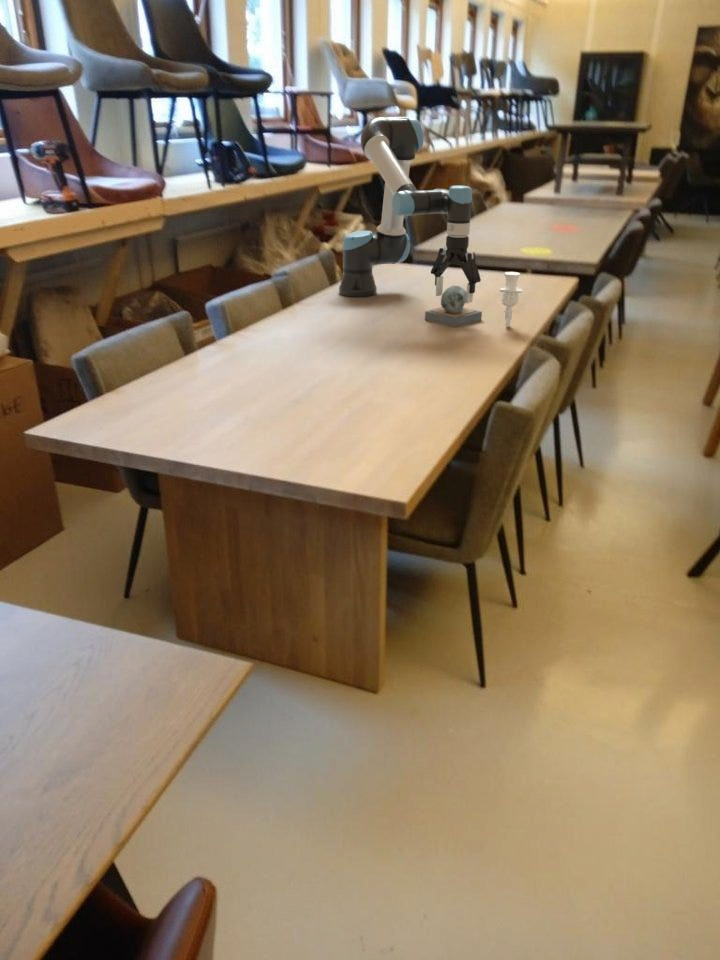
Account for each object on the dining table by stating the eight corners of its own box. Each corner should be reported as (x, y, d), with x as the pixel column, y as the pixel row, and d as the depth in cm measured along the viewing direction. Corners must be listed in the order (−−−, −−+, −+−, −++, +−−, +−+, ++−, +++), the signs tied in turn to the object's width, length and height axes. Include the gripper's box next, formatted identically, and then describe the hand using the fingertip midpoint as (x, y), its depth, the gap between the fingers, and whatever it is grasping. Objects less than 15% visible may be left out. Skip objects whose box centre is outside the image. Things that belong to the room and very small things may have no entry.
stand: (424, 319, 263) (425, 310, 261) (450, 313, 272) (451, 303, 270) (455, 327, 254) (456, 317, 252) (481, 320, 263) (481, 310, 261)
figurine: (498, 322, 260) (503, 269, 252) (520, 324, 257) (526, 271, 249) (493, 330, 251) (498, 275, 243) (516, 332, 249) (521, 277, 241)
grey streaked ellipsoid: (468, 307, 252) (458, 279, 251) (443, 318, 255) (432, 291, 255) (475, 307, 265) (465, 281, 264) (450, 318, 268) (440, 292, 267)
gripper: (422, 232, 256) (419, 294, 265) (480, 241, 240) (475, 307, 249) (437, 229, 260) (433, 290, 270) (494, 239, 244) (489, 303, 254)
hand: (453, 299), depth 260 cm, fingers open, 13 cm apart
